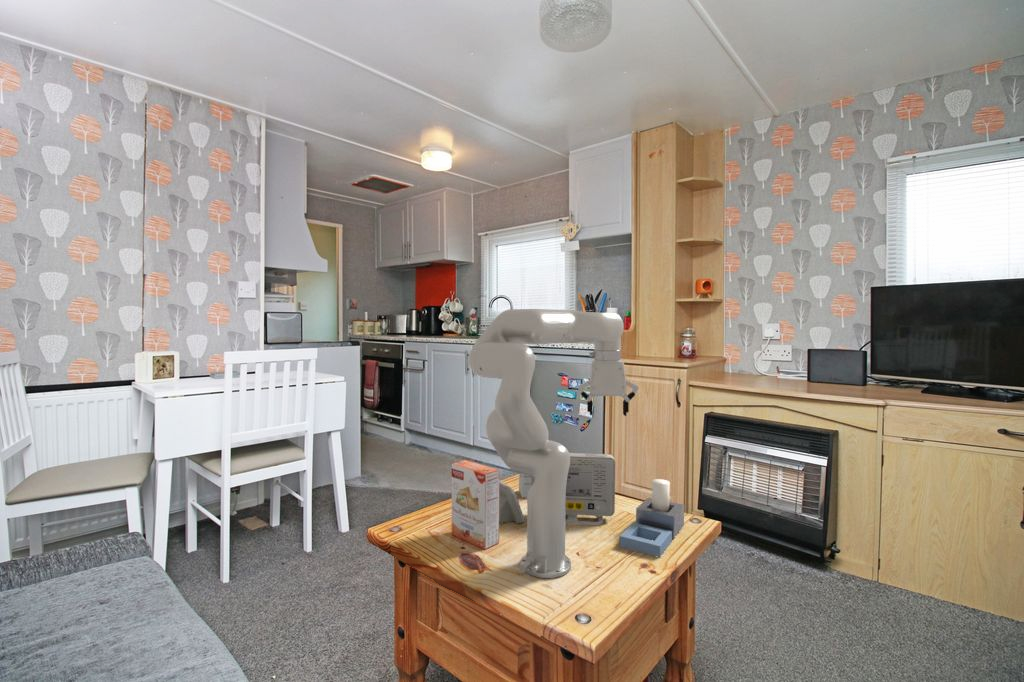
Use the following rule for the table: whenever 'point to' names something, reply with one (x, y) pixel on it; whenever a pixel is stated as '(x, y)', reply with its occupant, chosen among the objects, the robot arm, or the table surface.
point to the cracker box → (475, 503)
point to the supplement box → (524, 484)
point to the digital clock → (509, 505)
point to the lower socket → (646, 539)
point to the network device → (589, 487)
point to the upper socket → (661, 516)
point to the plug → (660, 495)
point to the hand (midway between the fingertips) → (607, 414)
